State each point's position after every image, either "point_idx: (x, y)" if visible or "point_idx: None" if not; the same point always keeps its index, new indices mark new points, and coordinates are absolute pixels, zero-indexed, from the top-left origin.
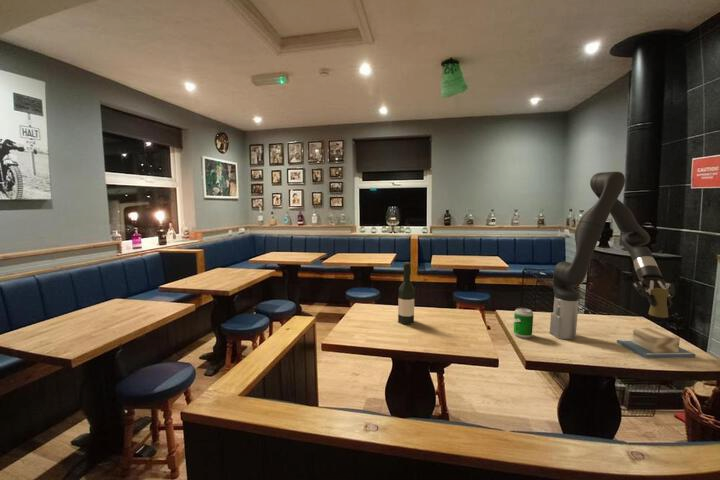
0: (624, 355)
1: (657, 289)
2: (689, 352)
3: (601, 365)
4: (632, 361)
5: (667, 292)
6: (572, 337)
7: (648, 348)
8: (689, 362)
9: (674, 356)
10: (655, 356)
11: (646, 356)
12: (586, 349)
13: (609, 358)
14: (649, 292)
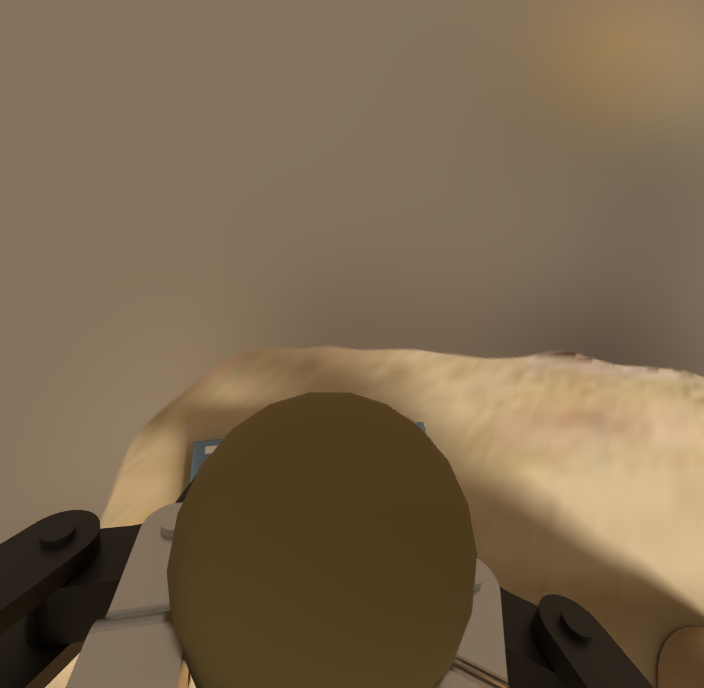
0: (487, 445)
1: (437, 494)
2: (201, 461)
3: (595, 363)
4: (482, 395)
5: (291, 398)
6: (685, 635)
7: None
8: (272, 397)
9: None
10: None
11: (417, 423)
12: (621, 496)
13: (554, 415)
14: (494, 614)
